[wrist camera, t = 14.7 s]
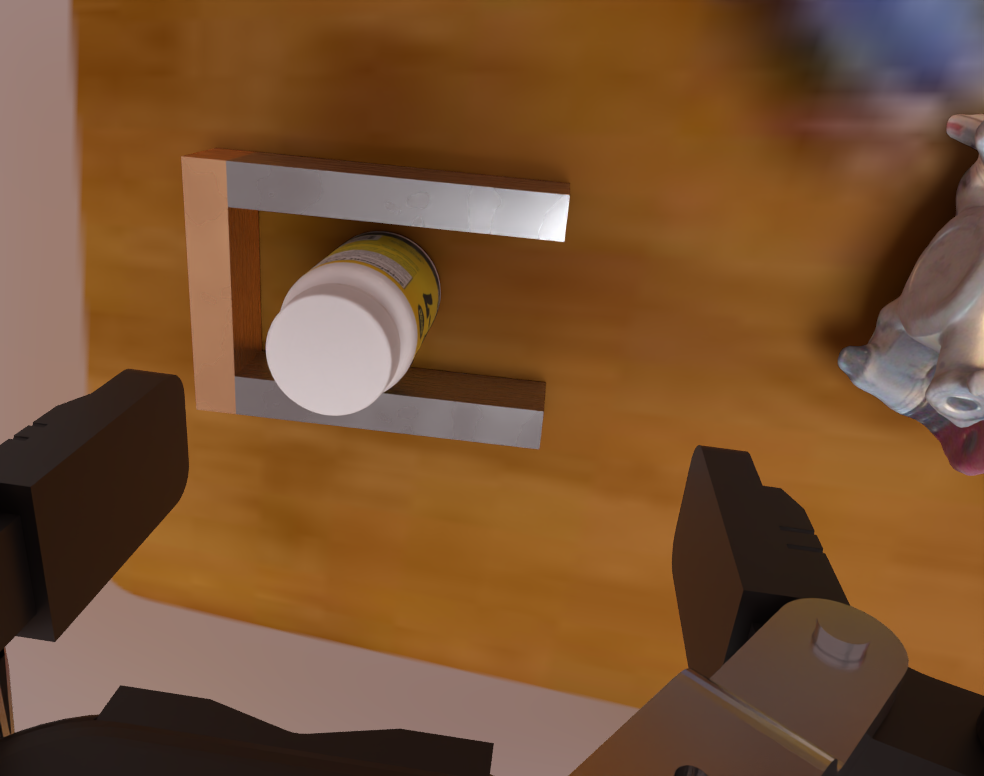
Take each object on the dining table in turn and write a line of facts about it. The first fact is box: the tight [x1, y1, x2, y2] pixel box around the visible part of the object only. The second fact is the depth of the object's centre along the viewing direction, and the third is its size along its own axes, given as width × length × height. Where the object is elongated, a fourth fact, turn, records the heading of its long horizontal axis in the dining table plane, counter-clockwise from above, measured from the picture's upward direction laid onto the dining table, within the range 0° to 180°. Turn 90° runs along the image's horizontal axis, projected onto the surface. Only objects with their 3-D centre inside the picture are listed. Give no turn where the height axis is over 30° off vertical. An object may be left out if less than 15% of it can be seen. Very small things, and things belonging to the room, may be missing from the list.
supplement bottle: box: [266, 231, 441, 416], centre depth 28 cm, size 5×5×8 cm
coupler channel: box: [181, 148, 570, 449], centre depth 31 cm, size 10×14×3 cm
